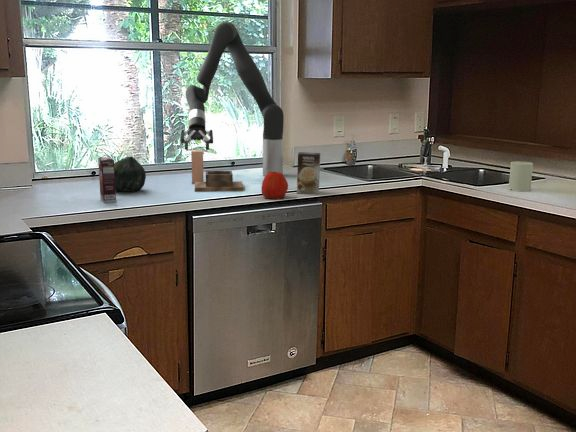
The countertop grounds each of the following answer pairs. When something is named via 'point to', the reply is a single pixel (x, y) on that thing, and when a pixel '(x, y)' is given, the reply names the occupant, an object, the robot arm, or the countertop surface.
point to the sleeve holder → (219, 182)
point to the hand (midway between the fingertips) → (196, 149)
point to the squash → (129, 175)
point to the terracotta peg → (197, 166)
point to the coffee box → (308, 173)
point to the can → (520, 175)
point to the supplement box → (107, 179)
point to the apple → (274, 185)
